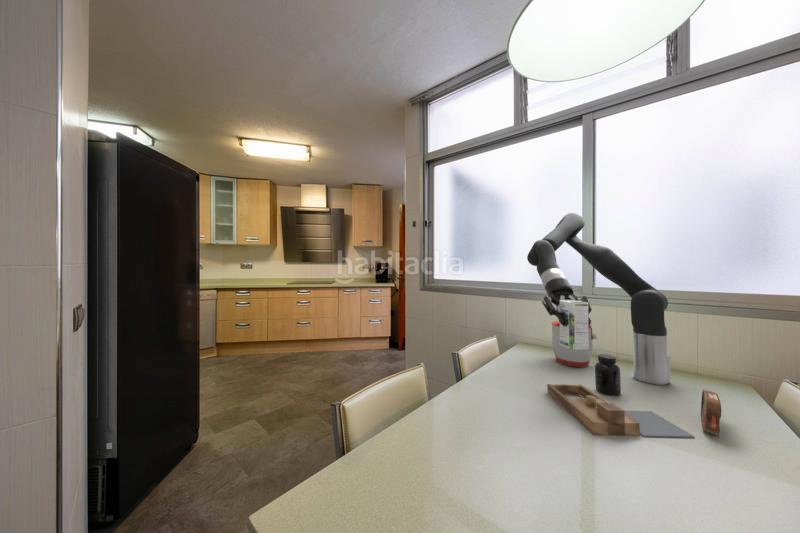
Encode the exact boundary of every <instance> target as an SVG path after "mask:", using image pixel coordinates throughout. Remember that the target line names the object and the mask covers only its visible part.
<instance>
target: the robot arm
mask: <svg viewBox="0 0 800 533" xmlns="http://www.w3.org/2000/svg"><path fill="white" fill-rule="evenodd" d="M585 225H586V221H585V219H584V217H583V216H581V215H580V214H578V213H575V212H569V213H567V214H565V215H564V216H563V217H562V218H561V220H560V221H559V222H558V223H557V224H556V225H555V227H554V229H552V231H550V232H548V234H546V235H545V236H543V238H542V239H539V240H536V241H534V243H533V244H532V247H531V248H530V250H529V252H528V253H527V256H526V259H527V262H528V263H529V264H530V265H531V266H534V267H536V271H537V274H538V276H539V277H540V280H541V283H542V286H543V288H544V290H545V292H546V293H547V294H546V295H547V296H543V298H542V300H541V303H542V304H543V306H544V309H546V312H547V313H548V314H549V316H555V317H556V318H557V320H558V321H559V322H560V324H561V325H563V326H567V325H568V321H567V319H566V317H565V315H564V313H562V308H561V304H560V300H575V301H581V302H588V326H589V325H592V324H591V323H592V320H591V318H590V316H589V314H590V313H591V312H592V310H593V309H592V307H591V305H590V302H589V299H588V298H587V296H584V295H583V296H582V297H578V296H577V295H576V294H574V289H573V288H572V286H571V285H570V283H569V281H568V278H567V277H566V275H565V274H564V273H563V271H562V270H561V268H560V266H559V265H558V263H557V258H556V251H557V250H558V249H559V248H560V247H561V246H562V245H563V244H564V243H566V244H568V246H570V247H571V248H573V249H574V251H576V252H577V254H579V255H580V256H582V257H583V258H584V259H585V261H586V262H588V264H589V265H591V266H592V268H594V269H595V271H597V272H598V273H599V274H600V275H602V276H603V277H604V278H606V279H607V280H609V281H610V282H612V283H613V284H615V285H617V287H620V288H621V289H622V290H623V291H624V292H626V294H627V295H628V296H629V297H630V298H631V299H630V320H631V325H632V335H633V340H632V342H633V377H634V378H635V380H637V381H640V382H643V383H648V384H653V385H661V386H663V385H664V386H665V385H668V384H671V381H672V380H671V356H669V355H668V334H667V333H668V331H667V327H666V323H665V311H666V310H667V309H668V307H669V306H668V305H669V301H668V298H667V297H666V295H665V294H664V293H662V292H661V291H659V290H658V289H656V287H654V286H652V285H651V284H649V283H648V282H647V281H645V280H644V279H643V278H642V277H640V276H639V275H638V274H637V272H635V271H634V269H632V268H631V267H630V266H629V264H627V263H626V262H625V261H624V260H623V259H622V258H621V257H620V256H619V255H618V254H616V253H615V252H614V251H613V250H612V249H611V248H609V247H607V246H605V245H599V244H594V243H589V242H585V241H584V240H582V239H581V238H579V237H578V234H579V232H581V231H582V229H584V227H585ZM554 305H555V306H554Z"/></svg>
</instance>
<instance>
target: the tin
mask: <svg viewBox="0 0 800 533" xmlns="http://www.w3.org/2000/svg"><path fill="white" fill-rule="evenodd" d="M701 393H702V394H701V401H700V402H701V403H700V405H701V406H700V422H701V427H702V428H701V429H702V432H705V433H709V434H712V435H715V436H719V435H720V433H721V429H720V422H721V417H722V403H721V400H720V397H719V395H718V393H716V392H714V391H710V390H706V389H702V392H701Z"/></svg>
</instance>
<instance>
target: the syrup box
mask: <svg viewBox="0 0 800 533" xmlns="http://www.w3.org/2000/svg"><path fill="white" fill-rule="evenodd" d="M588 302H589V301H588ZM588 302H581V301H575V300H560V304H561V308H562V313H564V315H565V317H566V319H567V321H568V325H567V326H563V325H561V324H560V345H561V346H564V347H566V348H569V349H571V350H583V349H589V343H588V342H589V338H588V316H589V315H588Z"/></svg>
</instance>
